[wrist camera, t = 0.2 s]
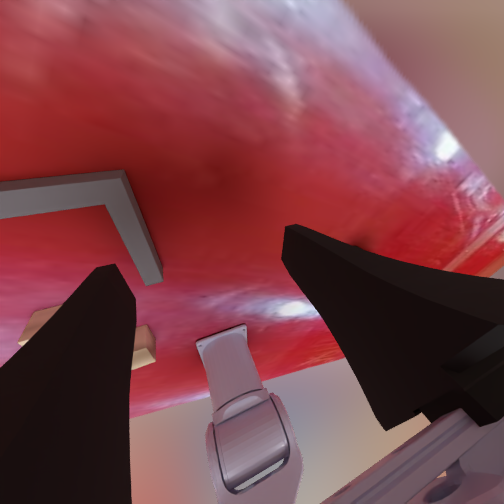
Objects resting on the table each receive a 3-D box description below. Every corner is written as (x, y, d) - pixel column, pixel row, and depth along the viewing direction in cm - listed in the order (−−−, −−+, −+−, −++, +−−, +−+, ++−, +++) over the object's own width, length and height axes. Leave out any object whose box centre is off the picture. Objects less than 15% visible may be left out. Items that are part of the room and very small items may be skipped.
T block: (155, 338, 26) (155, 361, 24) (53, 372, 23) (43, 402, 21) (124, 288, 20) (121, 313, 17) (-22, 326, 16) (-49, 361, 14)
